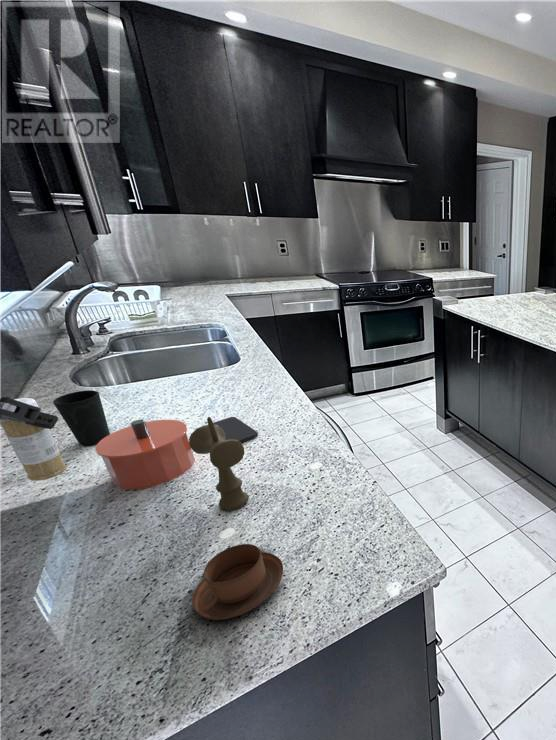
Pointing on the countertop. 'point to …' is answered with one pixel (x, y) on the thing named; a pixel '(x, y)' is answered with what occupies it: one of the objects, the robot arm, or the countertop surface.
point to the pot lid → (141, 438)
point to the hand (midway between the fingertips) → (38, 421)
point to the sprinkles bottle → (34, 448)
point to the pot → (151, 466)
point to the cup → (84, 416)
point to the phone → (236, 429)
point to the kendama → (221, 462)
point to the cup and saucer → (236, 582)
